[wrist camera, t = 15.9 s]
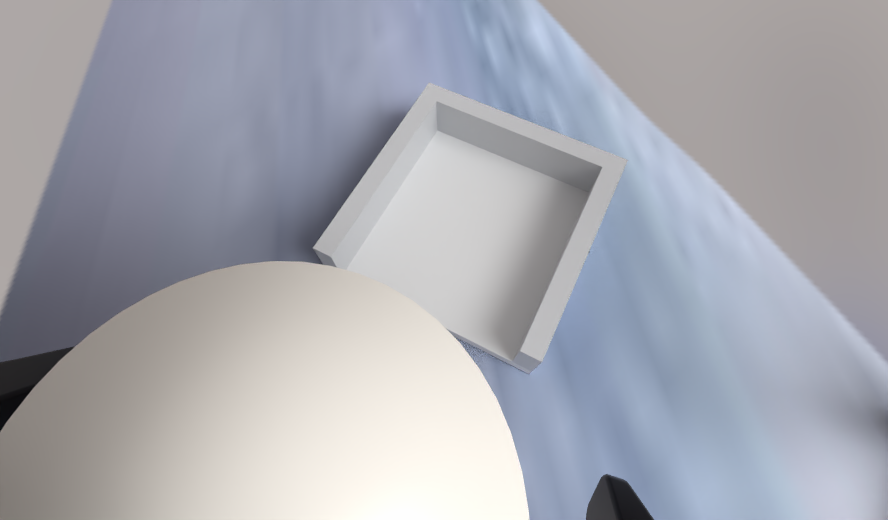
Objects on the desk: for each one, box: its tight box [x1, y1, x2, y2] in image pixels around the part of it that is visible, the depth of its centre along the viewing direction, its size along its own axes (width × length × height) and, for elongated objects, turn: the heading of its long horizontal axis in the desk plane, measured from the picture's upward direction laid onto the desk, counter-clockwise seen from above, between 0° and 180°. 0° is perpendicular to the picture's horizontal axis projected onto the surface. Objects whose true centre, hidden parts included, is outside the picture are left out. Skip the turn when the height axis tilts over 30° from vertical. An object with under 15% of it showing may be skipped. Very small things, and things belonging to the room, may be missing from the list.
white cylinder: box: [0, 261, 529, 520], centre depth 10 cm, size 7×7×13 cm
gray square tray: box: [313, 83, 628, 374], centre depth 18 cm, size 9×9×2 cm
